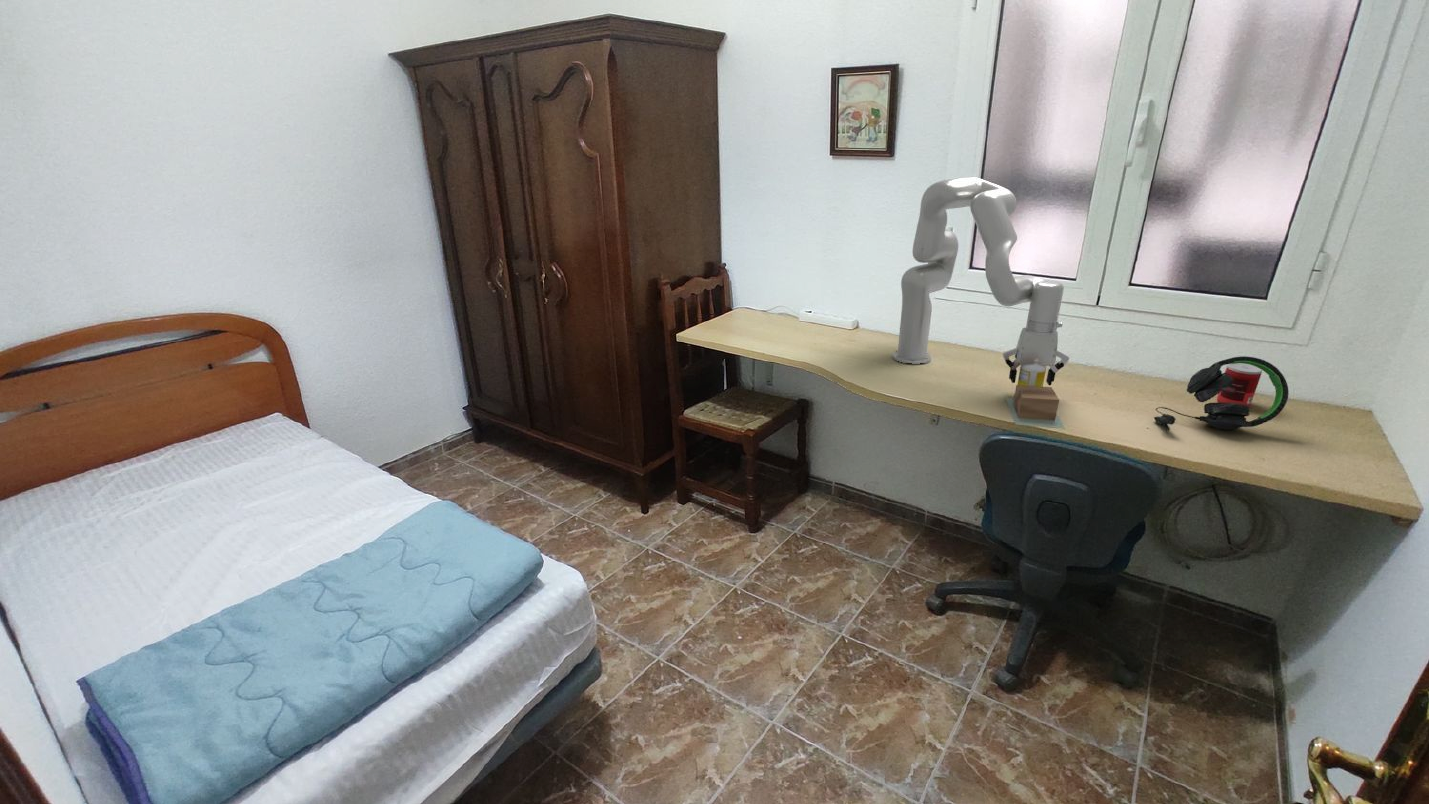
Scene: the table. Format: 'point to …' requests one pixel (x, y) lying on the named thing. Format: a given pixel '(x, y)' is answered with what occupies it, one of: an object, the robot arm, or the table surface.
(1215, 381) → the headset
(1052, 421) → the felt pad
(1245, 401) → the canned food
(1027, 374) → the supplement bottle
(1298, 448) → the table surface
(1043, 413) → the walnut block
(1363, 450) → the table surface
